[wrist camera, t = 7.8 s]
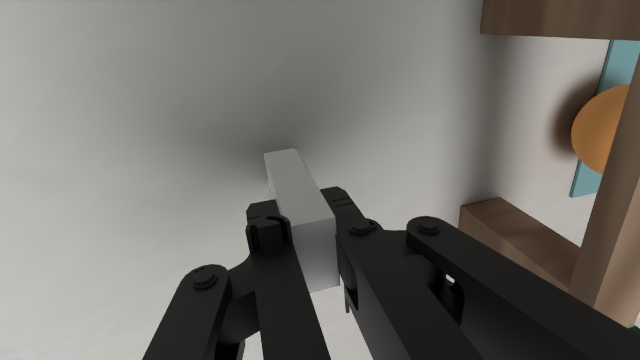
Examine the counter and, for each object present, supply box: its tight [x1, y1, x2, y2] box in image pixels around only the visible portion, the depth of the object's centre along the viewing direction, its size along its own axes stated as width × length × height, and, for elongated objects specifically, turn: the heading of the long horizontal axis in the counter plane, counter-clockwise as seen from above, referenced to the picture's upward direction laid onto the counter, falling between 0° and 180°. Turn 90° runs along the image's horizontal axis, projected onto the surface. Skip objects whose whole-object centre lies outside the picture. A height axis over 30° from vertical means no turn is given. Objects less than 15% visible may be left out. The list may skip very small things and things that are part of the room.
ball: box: [571, 84, 630, 175], centre depth 20 cm, size 6×6×6 cm
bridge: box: [459, 0, 640, 326], centre depth 17 cm, size 3×14×9 cm, turn 5°
